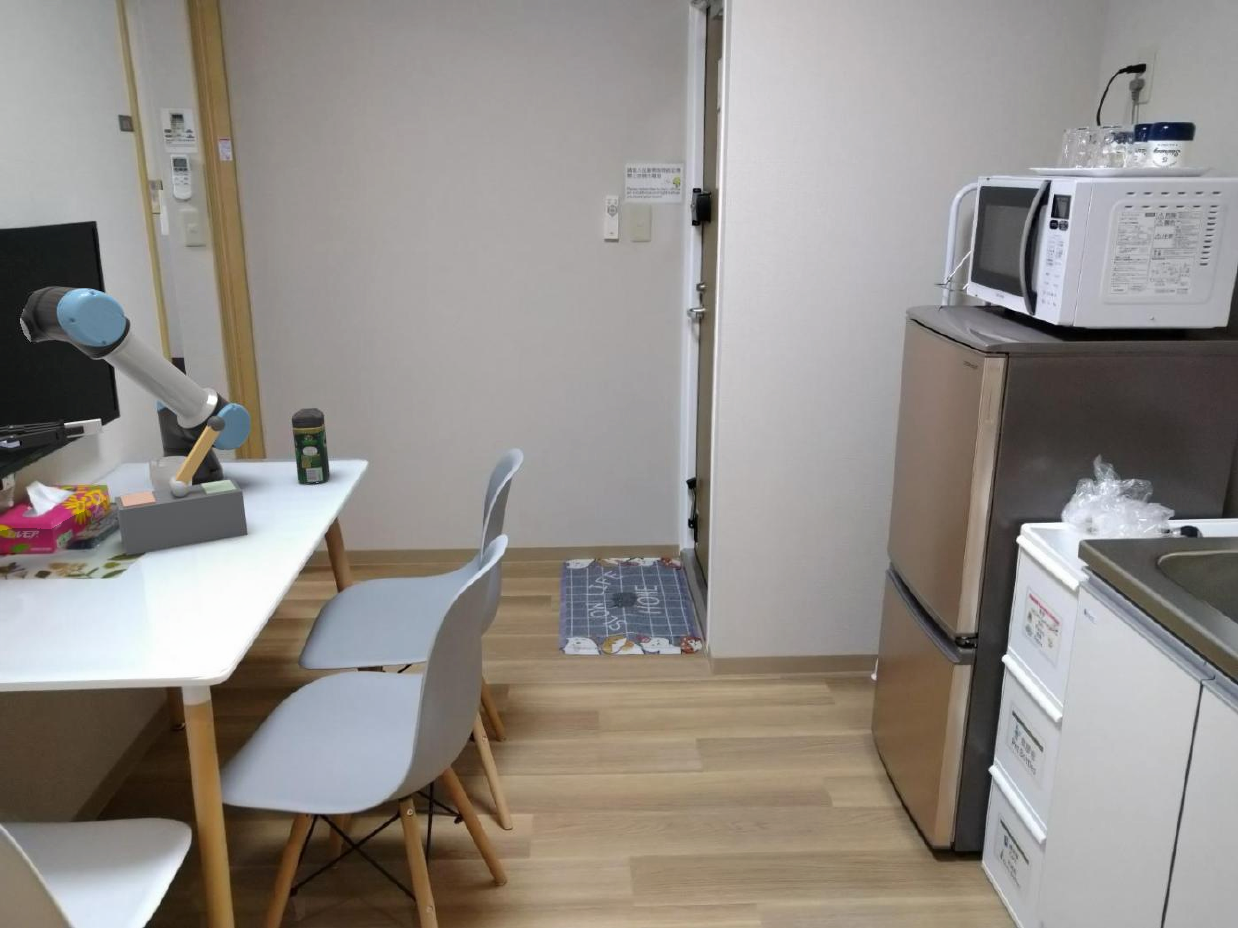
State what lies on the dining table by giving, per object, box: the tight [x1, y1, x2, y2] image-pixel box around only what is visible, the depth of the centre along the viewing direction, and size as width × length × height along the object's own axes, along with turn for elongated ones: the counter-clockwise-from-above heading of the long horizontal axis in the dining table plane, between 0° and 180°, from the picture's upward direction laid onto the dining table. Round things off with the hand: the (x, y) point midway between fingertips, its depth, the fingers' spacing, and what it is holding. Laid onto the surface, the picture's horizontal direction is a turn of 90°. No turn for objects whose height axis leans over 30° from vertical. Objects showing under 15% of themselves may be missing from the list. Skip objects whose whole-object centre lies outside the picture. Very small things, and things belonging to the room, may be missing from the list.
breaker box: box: [114, 479, 248, 557], centre depth 205 cm, size 10×24×10 cm, turn 122°
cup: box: [148, 456, 192, 491], centre depth 223 cm, size 9×9×12 cm
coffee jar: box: [291, 407, 331, 484], centre depth 245 cm, size 10×8×19 cm
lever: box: [168, 416, 225, 497], centre depth 204 cm, size 6×4×19 cm
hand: (101, 425), depth 195 cm, fingers closed
